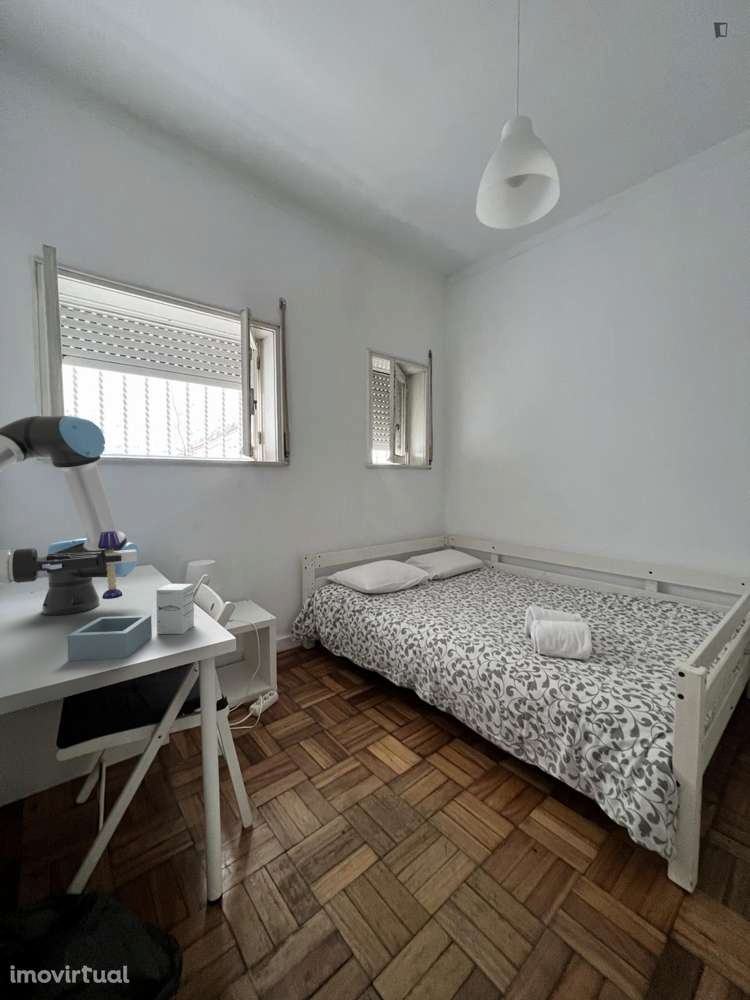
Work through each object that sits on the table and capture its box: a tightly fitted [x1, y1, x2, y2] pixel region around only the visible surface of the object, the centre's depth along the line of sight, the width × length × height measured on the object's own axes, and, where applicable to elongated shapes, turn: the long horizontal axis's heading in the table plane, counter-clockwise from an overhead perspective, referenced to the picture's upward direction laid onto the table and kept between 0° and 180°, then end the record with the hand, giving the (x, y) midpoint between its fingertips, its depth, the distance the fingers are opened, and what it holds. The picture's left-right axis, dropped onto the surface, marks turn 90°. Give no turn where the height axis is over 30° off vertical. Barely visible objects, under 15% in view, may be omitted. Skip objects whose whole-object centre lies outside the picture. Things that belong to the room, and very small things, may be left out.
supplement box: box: [156, 583, 195, 635], centre depth 111 cm, size 7×7×13 cm
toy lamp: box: [98, 531, 123, 600], centre depth 98 cm, size 5×5×17 cm
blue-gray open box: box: [66, 614, 153, 662], centre depth 99 cm, size 13×13×6 cm
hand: (135, 555), depth 101 cm, fingers closed on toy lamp, 2 cm apart
